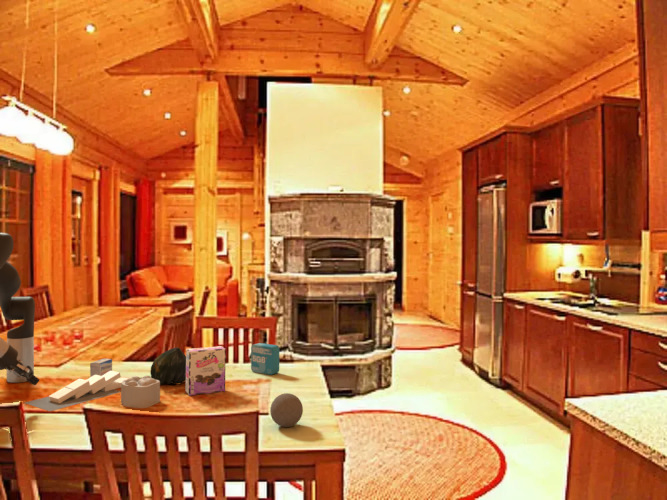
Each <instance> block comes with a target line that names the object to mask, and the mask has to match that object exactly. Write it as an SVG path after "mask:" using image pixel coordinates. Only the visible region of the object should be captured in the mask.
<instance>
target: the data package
mask: <svg viewBox="0 0 667 500" xmlns="http://www.w3.org/2000/svg"><path fill="white" fill-rule="evenodd" d="M250 349H251V352H250V354H251V355H250V361H251V362H250V370H251V372H253V373H257V374H263V375H268V376H273V375H274V374H275V375H276V374H278V373H279V371H280V347H279V345H277V344H269V343H264V342H263V343H262V342H259V343H254V344H252V345H251V348H250Z"/></svg>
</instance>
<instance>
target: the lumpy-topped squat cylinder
mask: <svg viewBox="0 0 667 500" xmlns="http://www.w3.org/2000/svg"><path fill="white" fill-rule="evenodd" d="M120 391H121V392H120V403H121V405H122V406H123V407H126V408H133V409H146V408H150V407H152V406H154V405H156V404H159V403H160V402H161V384H160V381H159V380H155V379H153V378H151V375H146V374H145V375H143V376H142V377H140V376H138V375H134V376H132V377H129V378H128V379H127V380H124V381H122V382H121V387H120Z"/></svg>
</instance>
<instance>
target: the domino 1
mask: <svg viewBox="0 0 667 500" xmlns="http://www.w3.org/2000/svg"><path fill="white" fill-rule="evenodd" d="M88 386H90V383H89V381H88V380H87V379H82V378H77V379H76V380H75V381H73V382H71V383H69V384H67V385H65V386H63V387H62V388H61V389H60V388H59V390H57V391H54V392H53V393H52V394H50V395H48V397H49V399H50V401H53V402H56V403H61V402H63V401H65V400H66V399H68V398H70V397H71V396H73V395H75V394H76V393H78V392H80V391H81V390H83V389H85V388H86V387H88Z"/></svg>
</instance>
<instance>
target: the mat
mask: <svg viewBox="0 0 667 500" xmlns="http://www.w3.org/2000/svg"><path fill="white" fill-rule="evenodd" d="M119 393H121V390H116V389H113V390H109V391H102V390H99V391H97V392H96V393H94V394H92V393H88V392H87V393H85V394H84V395H82V396H81V397H79V398H77V399H75V398H72V397H70V398H68V399H66V400H65V401H63V402H61V403H56V402H53V401H50V399H49V396H45V397H41V398H37V399H33V400H29V401H26V402H24V404H26V405H28V406H32V407H35V408H38V409H41V410H44V411H47V412H53V411H56V410H60V409H61V410H62V409H65V408H68V407H71V406H76V405H78V404H79V405H80V404H82V403H87V402H90V401H93V400H97V399H101V398H105V397H108V396H111V395H115V394H119Z"/></svg>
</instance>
